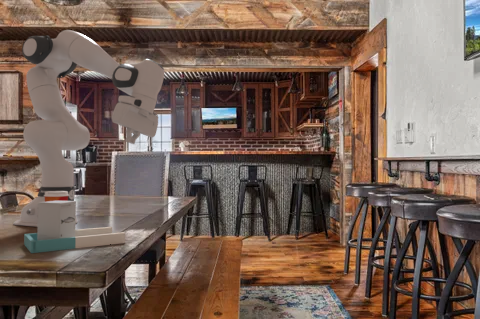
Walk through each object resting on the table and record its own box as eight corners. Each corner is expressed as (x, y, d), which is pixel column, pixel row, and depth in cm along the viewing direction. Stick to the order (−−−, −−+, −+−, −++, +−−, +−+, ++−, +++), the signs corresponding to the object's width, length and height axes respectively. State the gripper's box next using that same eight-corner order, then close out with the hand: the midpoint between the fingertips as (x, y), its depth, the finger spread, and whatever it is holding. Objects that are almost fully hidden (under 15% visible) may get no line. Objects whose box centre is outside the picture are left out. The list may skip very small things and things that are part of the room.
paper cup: (43, 232, 135) (44, 190, 135) (68, 231, 138) (69, 190, 138) (42, 237, 128) (42, 192, 128) (68, 235, 131) (69, 192, 131)
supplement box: (59, 249, 111) (59, 203, 111) (36, 247, 113) (36, 202, 113) (76, 243, 118) (76, 200, 118) (54, 242, 120) (55, 199, 120)
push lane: (31, 253, 106) (31, 241, 106) (24, 244, 117) (24, 234, 117) (125, 242, 120) (125, 232, 120) (111, 236, 131) (111, 226, 131)
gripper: (152, 112, 153) (141, 147, 152) (115, 94, 135) (102, 133, 134) (165, 115, 150) (154, 151, 149) (129, 97, 132) (116, 137, 131)
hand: (129, 143), depth 141 cm, fingers closed
